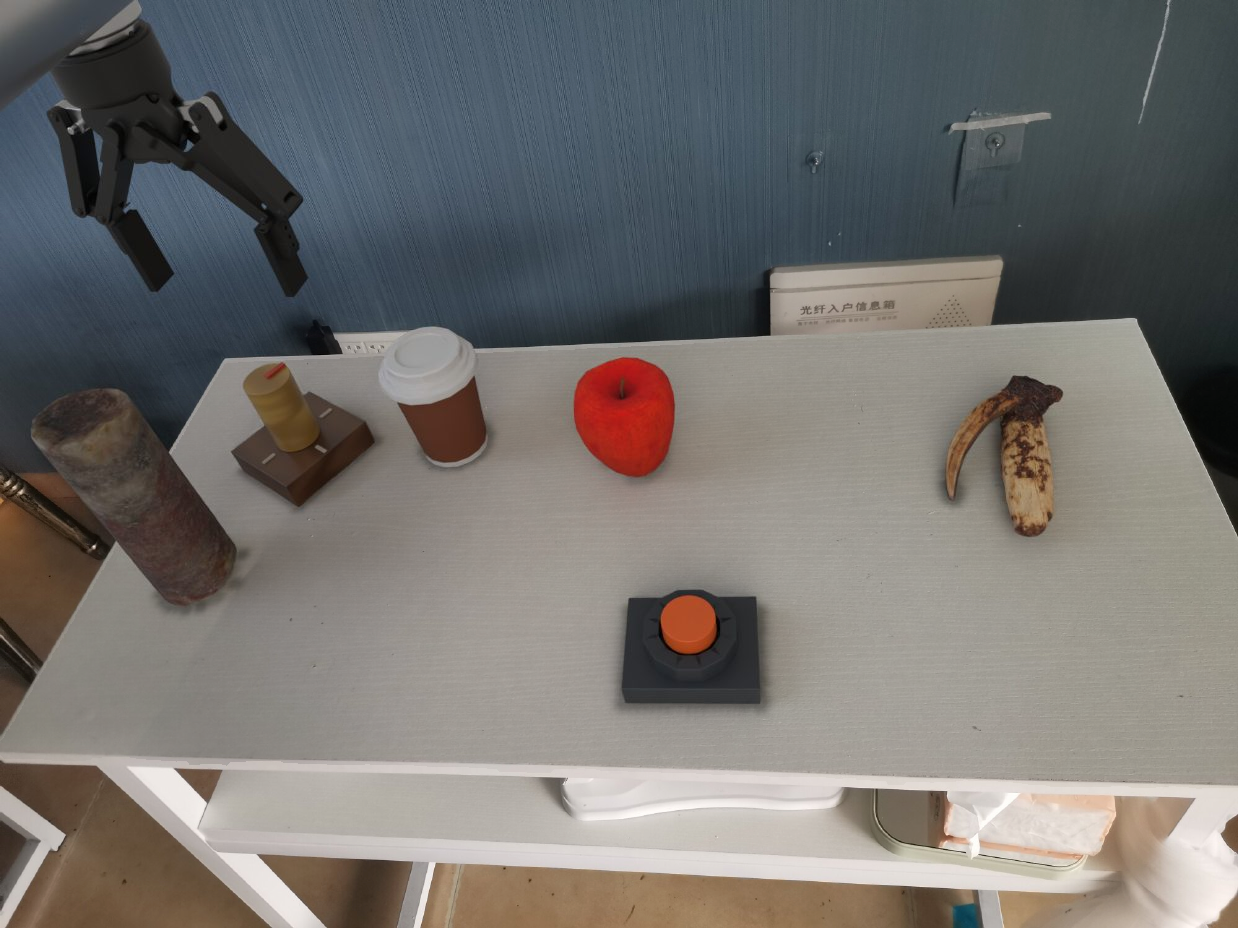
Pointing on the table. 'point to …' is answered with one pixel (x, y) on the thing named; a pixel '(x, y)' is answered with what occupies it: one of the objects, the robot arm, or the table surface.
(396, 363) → the coffee cup
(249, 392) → the dimmer knob
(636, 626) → the switch block
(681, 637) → the light button
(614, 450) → the apple
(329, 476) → the panel
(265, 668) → the table surface
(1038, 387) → the lashed bone hook
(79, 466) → the weathered brown cylinder
